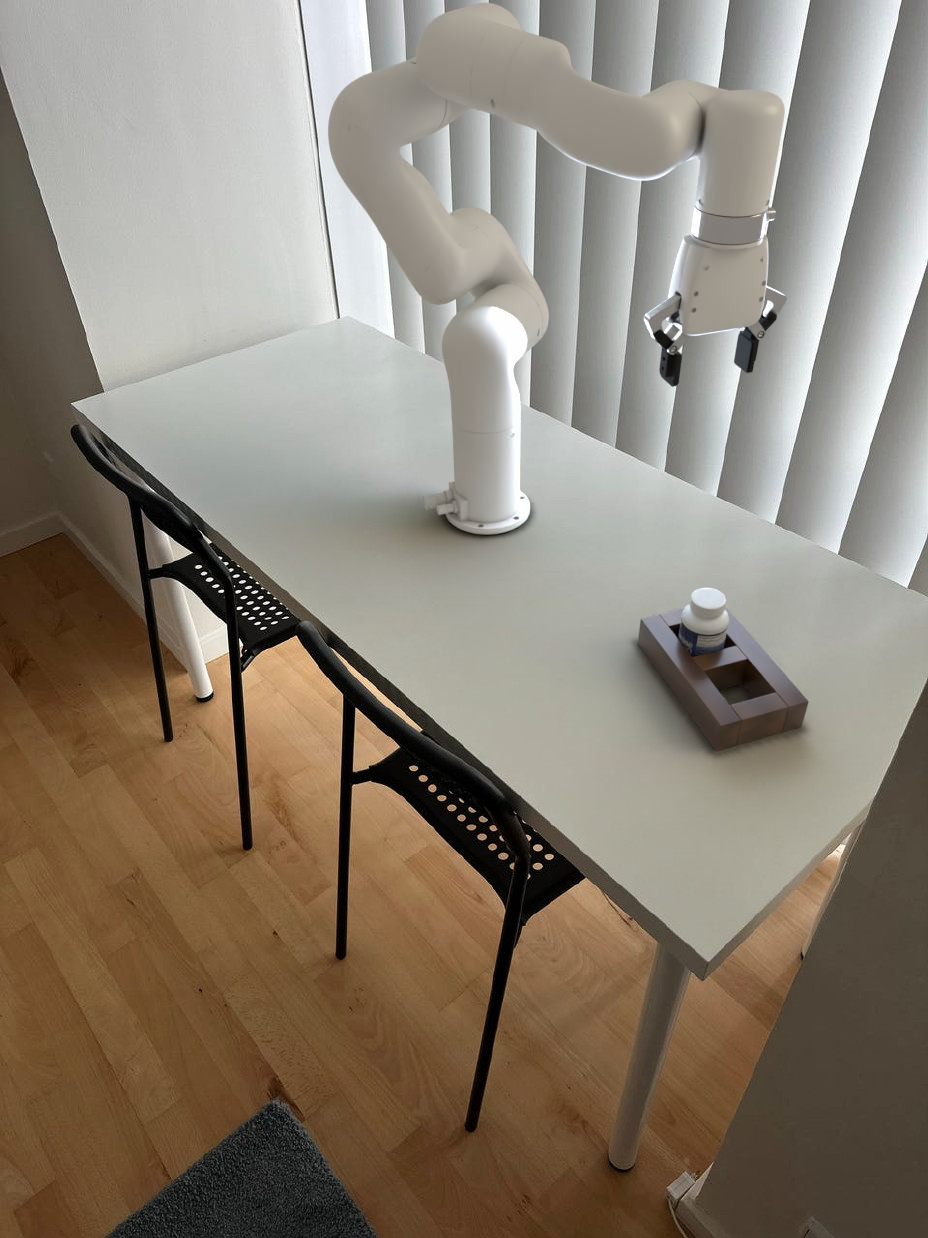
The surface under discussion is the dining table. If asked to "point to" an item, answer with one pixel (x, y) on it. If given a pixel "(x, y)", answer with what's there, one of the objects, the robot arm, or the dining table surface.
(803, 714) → the stand
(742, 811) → the dining table surface
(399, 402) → the dining table surface
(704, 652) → the pill bottle
